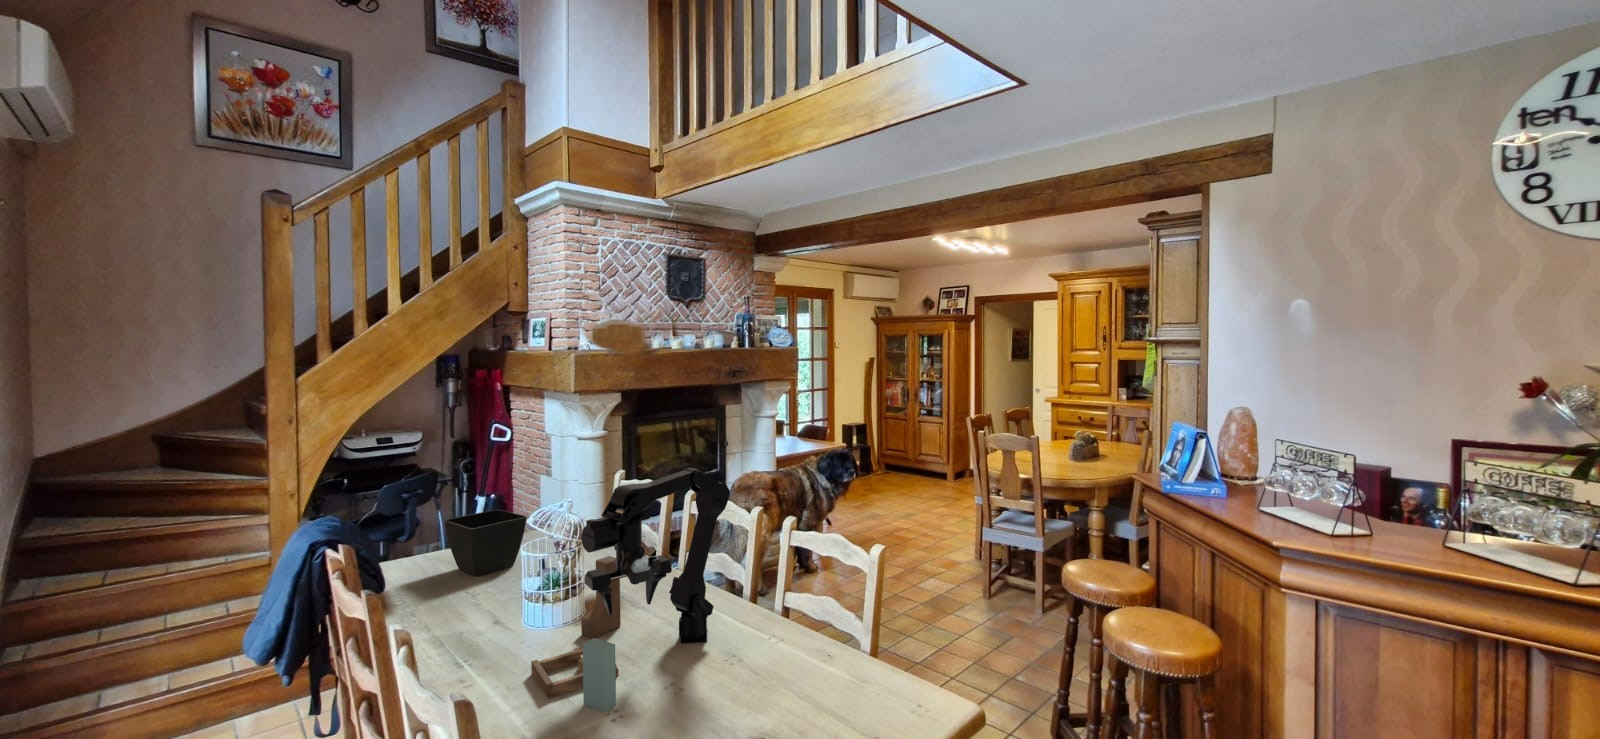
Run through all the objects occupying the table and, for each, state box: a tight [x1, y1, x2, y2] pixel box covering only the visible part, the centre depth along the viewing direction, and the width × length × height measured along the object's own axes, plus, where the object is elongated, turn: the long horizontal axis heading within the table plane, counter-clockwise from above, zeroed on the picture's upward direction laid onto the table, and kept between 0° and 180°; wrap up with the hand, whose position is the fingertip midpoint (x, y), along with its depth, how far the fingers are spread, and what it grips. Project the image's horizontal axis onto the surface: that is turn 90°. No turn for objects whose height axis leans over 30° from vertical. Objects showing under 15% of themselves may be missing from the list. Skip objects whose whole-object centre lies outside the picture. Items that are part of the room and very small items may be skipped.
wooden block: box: [580, 555, 622, 640], centre depth 159 cm, size 9×4×18 cm, turn 144°
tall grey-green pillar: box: [582, 637, 617, 713], centre depth 126 cm, size 3×6×12 cm, turn 62°
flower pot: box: [443, 509, 528, 577], centre depth 207 cm, size 19×19×17 cm
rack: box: [530, 647, 619, 700], centre depth 138 cm, size 15×12×3 cm
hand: (629, 609), depth 142 cm, fingers open, 9 cm apart
